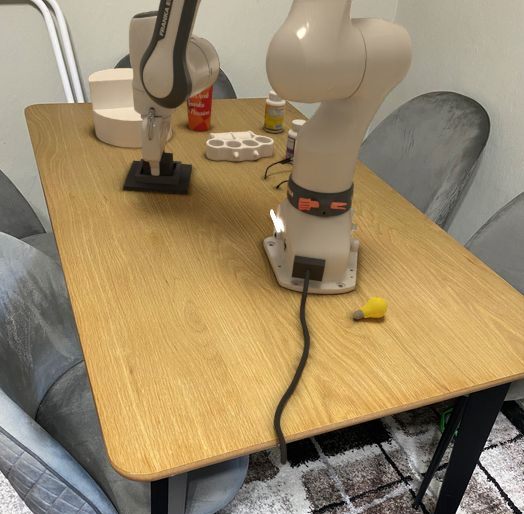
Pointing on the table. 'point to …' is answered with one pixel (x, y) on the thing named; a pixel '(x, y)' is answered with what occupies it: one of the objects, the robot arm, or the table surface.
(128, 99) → the container
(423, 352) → the table surface
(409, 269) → the table surface
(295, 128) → the pill bottle
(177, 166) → the base pad
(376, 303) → the light bulb
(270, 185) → the table surface
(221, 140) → the white brass knuckles
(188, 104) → the coffee cup
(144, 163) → the black block
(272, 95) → the supplement bottle
